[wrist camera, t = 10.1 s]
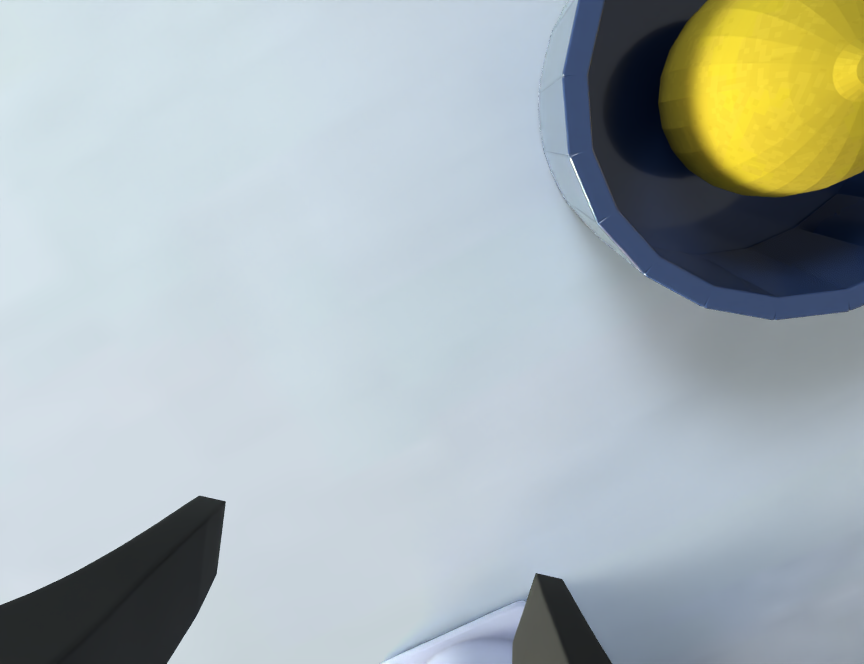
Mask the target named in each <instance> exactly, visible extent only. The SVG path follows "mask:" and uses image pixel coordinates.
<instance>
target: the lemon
mask: <svg viewBox="0 0 864 664" xmlns="http://www.w3.org/2000/svg"><path fill="white" fill-rule="evenodd" d="M658 106H659V112H660V119H661V125H662V129H663V131H664V134H665V136H666V138H667V140H668V143H669V145H670V147H671V149H672V151H673V152H674V153H675V154H676V156H677V157H678V158H679V159H680V160H681V162H682V163H683V164H684V165H685V167H686V168H687V169H688V170H689V171H691V172H692V173H694V174H695V175H697V176H698V177H700V178H701V179H703V180H704V181H706V182H707V183H709V184H711V185H713V186H715V187H718V188H721V189H724V190H727V191H730V192H734V193H737V194H740V195H746V196H761V197H785V196H791V195H796V194H801V193H806V192H811V191H817V190H821V189H824V188H827V187H829V186H831V185H834V184H836V183H838V182H841V181H843V180H845V179H848V178H850V177H852V176H854V175H857V174H859V173H861V172H862V171H864V0H707V1H706V2H705V3H704V5H703V6H702V7H701V8H700V9H699V10H698V11H697V12H696V13H695V14H694V15H693V16H692V17H691V18H690V19H689V20H688V21H687V22H686V24H685V26H684V27H683V29H682V31H681V32H680V34H679V36H678V37H677V39H676V41H675V42H674V44H673V46H672V47H671V49H670V51H669V53H668V56H667V59H666V62H665V65H664V68H663V71H662V74H661V78H660V88H659V99H658Z"/></svg>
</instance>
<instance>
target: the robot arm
mask: <svg viewBox="0 0 864 664" xmlns="http://www.w3.org/2000/svg"><path fill="white" fill-rule="evenodd" d="M225 503H226V502H225V501H221V500H217V499H212V498H208V497H204V496H198V497H196V498H195V499H193V500H191V501H190V502H188V503H187V504H185V505H184V506H182V507H181V508H179V509H178V510H176V511H175V512H173V513H172V514H170V515H169V516H167V517H166V518H164V519H163V520H161V521H160V522H158V523H157V524H155V525H154V526H152V527H151V528H149V529H148V530H146V531H144V532H143V533H141V534H140V535H138V536H136V537H135V538H133V539H132V540H130V541H128V542H127V543H125V544H124V545H122V546H120V547H119V548H117V549H115V550H114V551H112V552H110V553H108V554H106V555H105V556H103V557H101V558H99V559H98V560H96V561H94V562H92V563H91V564H89V565H87V566H85V567H83V568H82V569H80V570H78V571H76V572H74V573H72V574H70V575H68V576H66V577H64V578H62V579H60V580H58V581H56V582H54V583H51V584H49V585H47V586H45V587H43V588H41V589H39V590H36V591H34V592H32V593H30V594H27V595H25V596H22V597H20V598H17V599H15V600H12V601H10V602H7V603H5V604H2V605H0V664H167V662H168V661H169V659H170V657H171V656H172V654H173V653H174V651H175V650H176V648H177V646H178V645H179V643H180V642H181V640H182V638H183V637H184V635H185V634H186V632H187V630H188V629H189V627H190V626H191V624H192V622H193V621H194V619H195V618H196V616H197V614H198V612H199V610H200V608H201V606H202V604H203V602H204V600H205V598H206V595H207V593H208V591H209V589H210V587H211V585H212V583H213V581H214V578H215V576H216V574H217V567H218V559H219V551H220V543H221V535H222V527H223V519H224V511H225ZM380 664H612V663H611V661H610V659H609V658H608V656H607V655H606V653H605V651H604V650H603V648H602V647H601V645H600V643H599V642H598V640H597V639H596V637H595V635H594V634H593V632H592V630H591V628H590V627H589V625H588V623H587V622H586V620H585V618H584V616H583V615H582V613H581V611H580V609H579V608H578V606H577V604H576V602H575V601H574V599H573V597H572V595H571V593H570V592H569V590H568V588H567V587H566V585H565V583H564V581H563V580H562V579H559V578H554V577H550V576H546V575H541V574H537V573H536V574H535V577H534V580H533V583H532V586H531V589H530V592H529V595H528V598H527V601H516V602H514V603H512V604H509V605H507V606H505V607H503V608H501V609H498V610H496V611H494V612H492V613H490V614H487V615H485V616H483V617H481V618H479V619H476V620H474V621H472V622H470V623H468V624H465V625H463V626H461V627H459V628H457V629H454V630H452V631H450V632H448V633H446V634H443V635H441V636H439V637H437V638H435V639H432V640H430V641H428V642H426V643H424V644H421V645H419V646H417V647H415V648H413V649H410V650H408V651H406V652H404V653H402V654H399V655H397V656H395V657H393V658H391V659H388V660H386V661H384V662H382V663H380Z"/></svg>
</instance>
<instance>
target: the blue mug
mask: <svg viewBox="0 0 864 664" xmlns="http://www.w3.org/2000/svg"><path fill="white" fill-rule="evenodd" d="M706 1H707V0H568V2H567V3H566V5H565V7H564V8H563V10H562V13H561V15H560V17H559V19H558V21H557V23H556V24H555V26H554V28H553V30H552V34H551V35H550V39H549V44H548V48H547V51H546V54H545V58H544V63H543V68H542V73H541V78H540V88H539V96H538V97H539V103H538V107H539V125H540V132H541V138H542V143H543V150H544V152H545V156H546V159H547V162H548V165H549V168H550V171H551V173H552V175H553V177H554V179H555V181H556V183H557V186H558V188H559V190H560V191H561V193H562V195H563V197H564V199H565V200H566V202H567V204H568V205H569V206H570V207H571V208H572V209H573V210H574V211H575V213H576V214H577V215H578V216H579V217H580V218H581V219H582V221H583V222H584V223H585V224H586V225H587V226H588V227H589V228H590V229H591V230H592V231H593V232H594V233H595V234H596V235H597V237H598V238H600V239H601V240H602V241H603V242H604V243H606V244H607V245H608V246H609V247H610V248H612V249H613V250H614V251H615V252H617V253H618V254H619V255H620V256H621V257H623V258H624V259H625V260H626V261H627V262H629V263H630V264H631V265H632V266H633V267H635V268H636V269H637V270H638V271H639V272H641V273H642V274H643V275H645V276H646V277H648V278H650V279H651V280H653V281H655V282H657V283H659V284H661V285H662V286H664V287H666V288H668V289H670V290H672V291H674V292H675V293H677V294H679V295H681V296H683V297H685V298H686V299H688V300H690V301H692V302H694V303H696V304H697V305H699V306H703V307H704V308H707V309H713V310H718V311H724V312H729V313H735V314H741V315H746V316H752V317H757V318H763V319H769V320H780V319H789V318H798V317H806V316H815V315H823V314H832V313H841V312H848V311H849V310H853V309H856V308H858V307H861V306H863V305H864V171H862V172H861V173H859V174H857V175H854V176H852V177H850V178H848V179H845V180H843V181H841V182H838V183H836V184H834V185H831V186H829V187H827V188H824V189H821V190H817V191H811V192H806V193H801V194H796V195H791V196H785V197H761V196H746V195H740V194H737V193H734V192H730V191H727V190H724V189H721V188H718V187H715V186H713V185H711V184H709V183H707V182H706V181H704V180H703V179H701V178H700V177H698V176H697V175H695V174H694V173H692V172H691V171H689V170H688V169H687V168H686V167H685V165H684V164H683V163H682V162H681V160H680V159H679V158H678V157H677V156H676V154H675V153H674V152H673V151H672V149H671V147H670V145H669V143H668V140H667V138H666V136H665V134H664V131H663V129H662V125H661V119H660V112H659V106H658V99H659V88H660V78H661V74H662V71H663V68H664V65H665V62H666V59H667V56H668V53H669V51H670V49H671V47H672V46H673V44H674V42H675V41H676V39H677V37H678V36H679V34H680V32H681V31H682V29H683V27H684V26H685V24H686V22H687V21H688V20H689V19H690V18H691V17H692V16H693V15H694V14H695V13H696V12H697V11H698V10H699V9H700V8H701V7H702V6H703V5H704V3H705V2H706Z"/></svg>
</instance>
